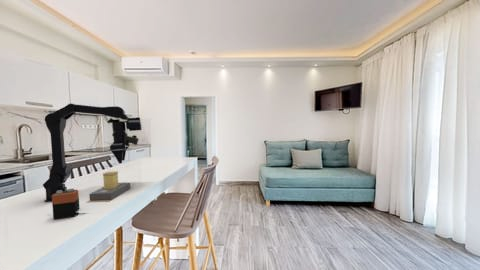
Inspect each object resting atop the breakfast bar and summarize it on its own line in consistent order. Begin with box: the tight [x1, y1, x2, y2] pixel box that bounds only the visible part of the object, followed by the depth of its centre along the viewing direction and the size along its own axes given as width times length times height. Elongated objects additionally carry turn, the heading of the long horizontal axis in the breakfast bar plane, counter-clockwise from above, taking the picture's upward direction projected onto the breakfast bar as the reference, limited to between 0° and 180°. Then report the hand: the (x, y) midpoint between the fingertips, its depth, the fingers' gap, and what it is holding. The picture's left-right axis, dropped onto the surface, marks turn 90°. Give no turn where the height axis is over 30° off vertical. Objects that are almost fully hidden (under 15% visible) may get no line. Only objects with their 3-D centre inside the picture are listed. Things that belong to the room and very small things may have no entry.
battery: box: [51, 188, 81, 220], centre depth 78 cm, size 4×7×10 cm, turn 111°
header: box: [85, 182, 134, 204], centre depth 97 cm, size 10×20×5 cm, turn 1°
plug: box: [102, 170, 119, 189], centre depth 97 cm, size 4×4×10 cm
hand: (121, 161), depth 107 cm, fingers open, 9 cm apart
